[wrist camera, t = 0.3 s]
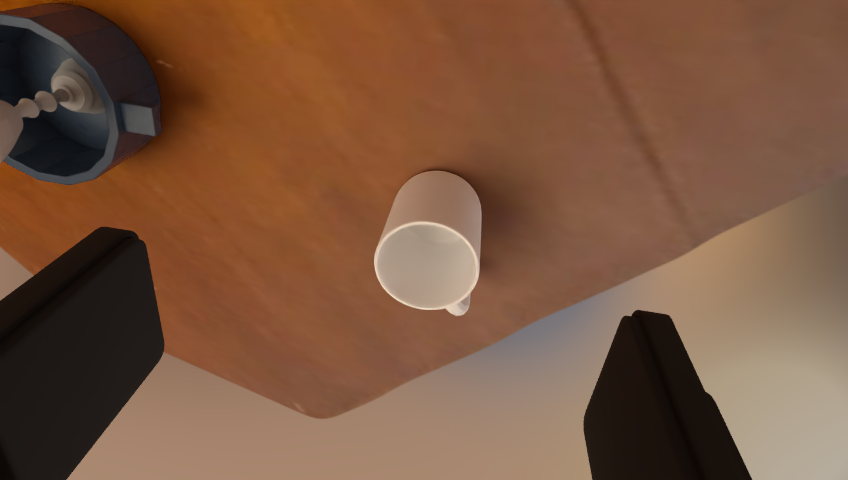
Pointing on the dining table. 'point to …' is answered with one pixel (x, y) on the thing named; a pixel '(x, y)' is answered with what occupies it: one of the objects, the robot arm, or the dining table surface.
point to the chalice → (50, 102)
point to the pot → (64, 129)
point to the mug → (432, 243)
